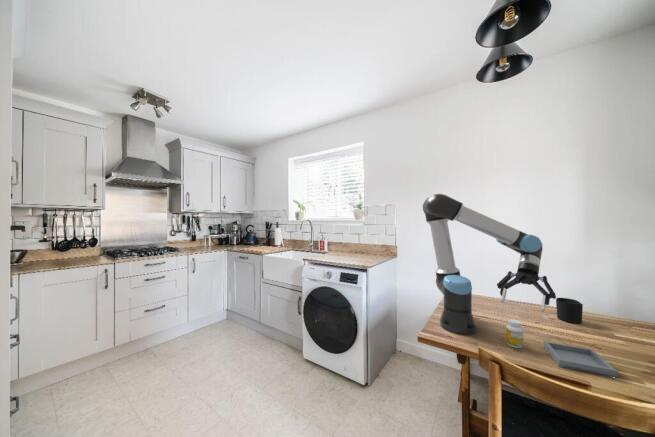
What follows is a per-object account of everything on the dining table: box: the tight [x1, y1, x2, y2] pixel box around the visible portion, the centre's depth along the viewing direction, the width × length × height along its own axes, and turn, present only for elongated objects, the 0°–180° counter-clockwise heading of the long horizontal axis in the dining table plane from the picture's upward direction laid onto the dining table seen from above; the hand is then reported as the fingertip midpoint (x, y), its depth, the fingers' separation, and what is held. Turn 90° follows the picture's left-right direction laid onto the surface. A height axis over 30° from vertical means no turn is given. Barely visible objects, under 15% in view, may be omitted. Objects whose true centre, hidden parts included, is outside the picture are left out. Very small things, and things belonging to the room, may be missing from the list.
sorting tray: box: [543, 340, 618, 379], centre depth 85 cm, size 14×14×2 cm
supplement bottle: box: [505, 318, 524, 349], centre depth 96 cm, size 5×5×10 cm
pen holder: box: [555, 297, 584, 325], centre depth 119 cm, size 9×9×10 cm
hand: (521, 306), depth 102 cm, fingers open, 13 cm apart
